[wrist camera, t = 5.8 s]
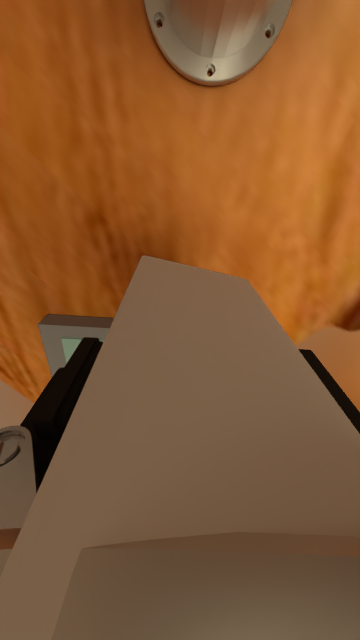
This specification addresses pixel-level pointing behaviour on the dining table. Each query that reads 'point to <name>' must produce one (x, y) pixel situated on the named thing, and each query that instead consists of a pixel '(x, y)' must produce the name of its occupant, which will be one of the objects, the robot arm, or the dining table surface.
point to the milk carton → (184, 439)
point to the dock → (69, 335)
